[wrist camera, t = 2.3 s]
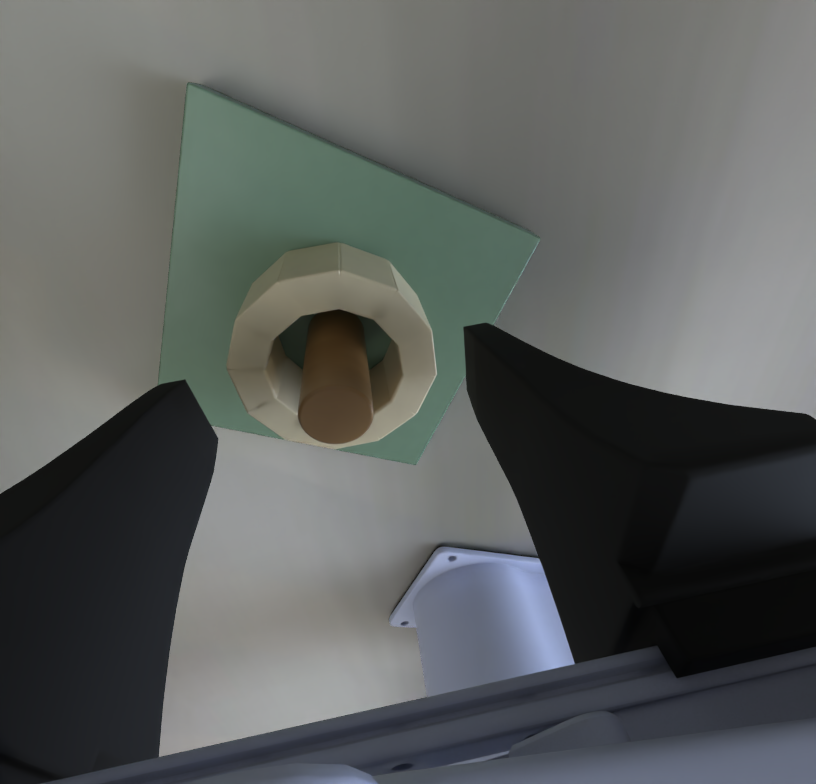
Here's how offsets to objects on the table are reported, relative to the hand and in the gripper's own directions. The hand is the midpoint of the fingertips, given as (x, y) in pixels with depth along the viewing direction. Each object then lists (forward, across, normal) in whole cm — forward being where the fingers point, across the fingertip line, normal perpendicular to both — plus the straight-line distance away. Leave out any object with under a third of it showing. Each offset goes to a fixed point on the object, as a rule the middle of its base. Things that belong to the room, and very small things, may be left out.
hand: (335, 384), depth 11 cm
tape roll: (+3, 0, 0) cm, 3 cm away
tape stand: (+4, 0, 0) cm, 4 cm away
